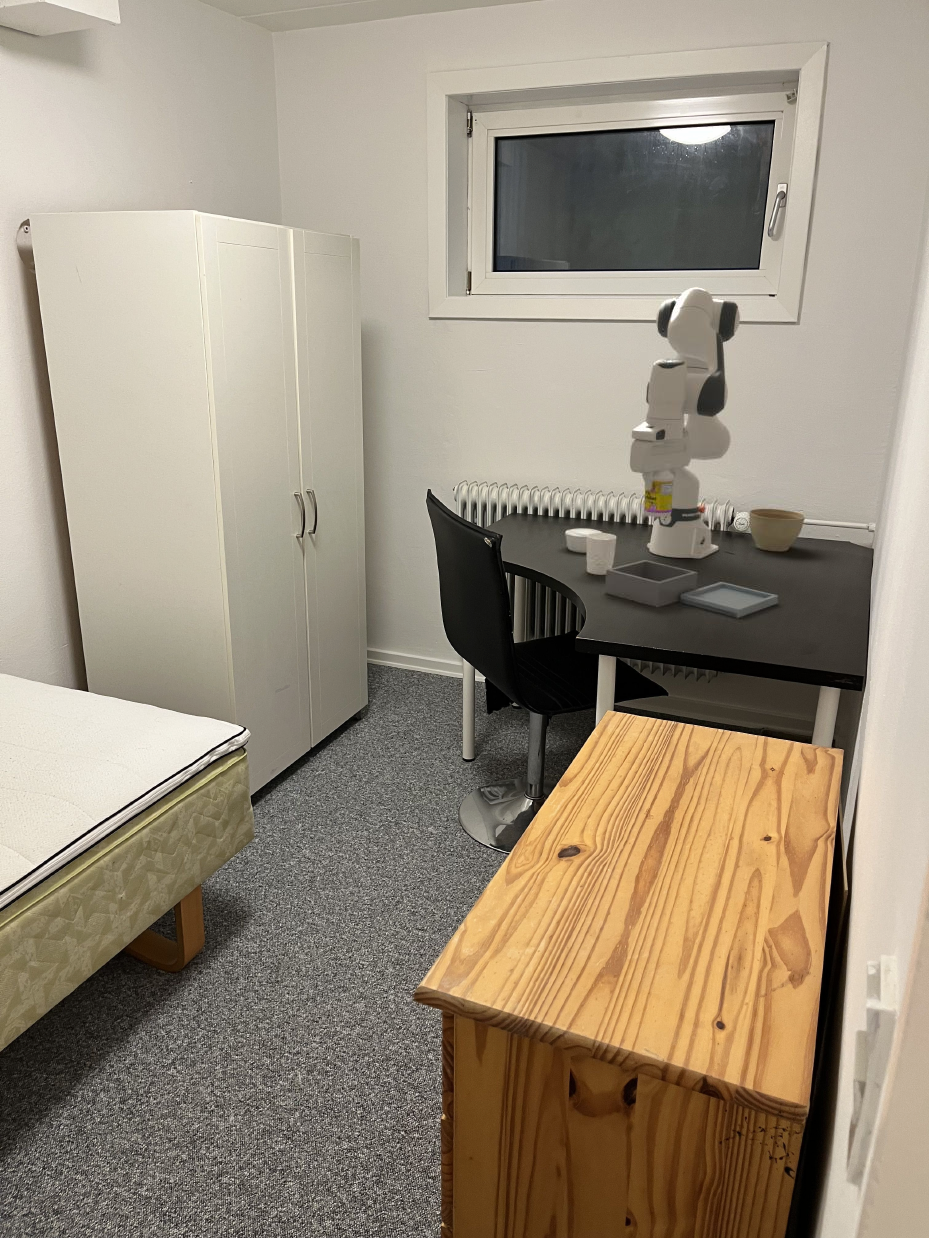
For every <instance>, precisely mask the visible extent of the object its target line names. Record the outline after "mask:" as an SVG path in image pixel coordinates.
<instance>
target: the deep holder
mask: <svg viewBox="0 0 929 1238" xmlns="http://www.w3.org/2000/svg"><path fill="white" fill-rule="evenodd" d="M697 579H698V572H697V571H693V570H689V569H685V568H681V567H676V566H672V565H668V564H663V563H660V562H655V561H651V560H647V559H643V560H640V561H636V562H632V563H627V564H624V565H619V566H616V567H612V568H611V569H608V570H606V575H605V584H604V585H605V587H604V594H608V595H612V596H615V597H619V598H622V599H625V598H626V599H627V600H629V601H632V600H634V601H633V602H636V601H637V603H640V604H643V603H644V604H643V605H647V604H648V605H647V606H650V605H652V606H651V607H654V606H655V608H660V607H663V606H665V605H667V606H668V605H669V604H673V603H675V602H676V603H677V602H680V598H681V594H684V593H687V592H690V591H693V590H697V582H698V581H697ZM626 599H625V600H626Z"/></svg>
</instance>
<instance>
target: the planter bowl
mask: <svg viewBox="0 0 929 1238" xmlns="http://www.w3.org/2000/svg"><path fill="white" fill-rule="evenodd" d="M748 515H749V516H748V517H749V520H748V521H749V522H748V523H749V530H750V534H751V536H752V538H753V540H754V542H755V546H756V548H758V549H760V550H765V551H767V552H786V551H788V550H789V549H790V546H791V545H792V544H793V543H794V542H795V541H796V539H798V537H799V535H800V534H801V531H802V528H803V525H804V521H805V519H806V516H805V515H804V514H802V513H800V512H797V511H796V512H795V511H791V510H786V509H777V508H755V509H750V510H749V512H748Z"/></svg>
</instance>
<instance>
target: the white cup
mask: <svg viewBox="0 0 929 1238" xmlns="http://www.w3.org/2000/svg"><path fill="white" fill-rule="evenodd" d="M616 543H617V535H615V534H612V533H605V532H602V533H591V534H588V535H587V553H586V572H587V573H589V574H593V575H597V576H598V575H599V576H604V575H605V576H606V570H608V569H611V568H613V564H614V559H615V552H616V545H617V544H616Z"/></svg>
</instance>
